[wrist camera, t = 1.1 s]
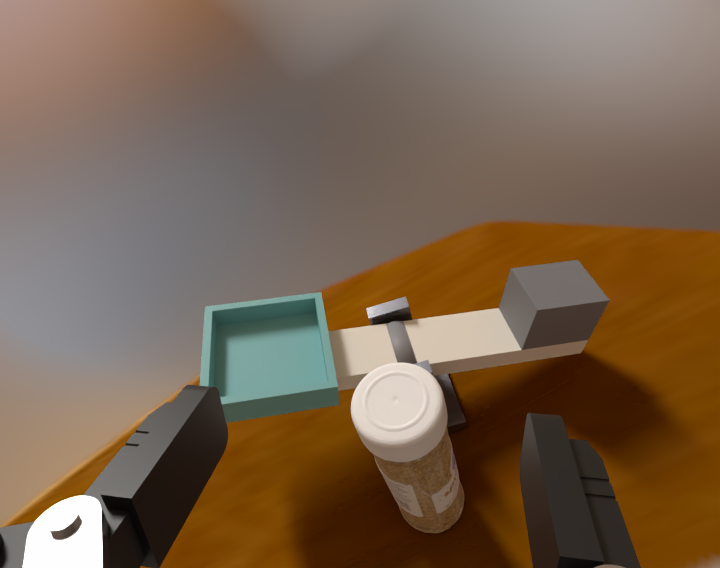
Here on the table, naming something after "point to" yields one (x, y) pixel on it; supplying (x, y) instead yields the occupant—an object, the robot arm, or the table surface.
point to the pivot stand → (401, 312)
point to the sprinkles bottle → (410, 443)
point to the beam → (387, 341)
